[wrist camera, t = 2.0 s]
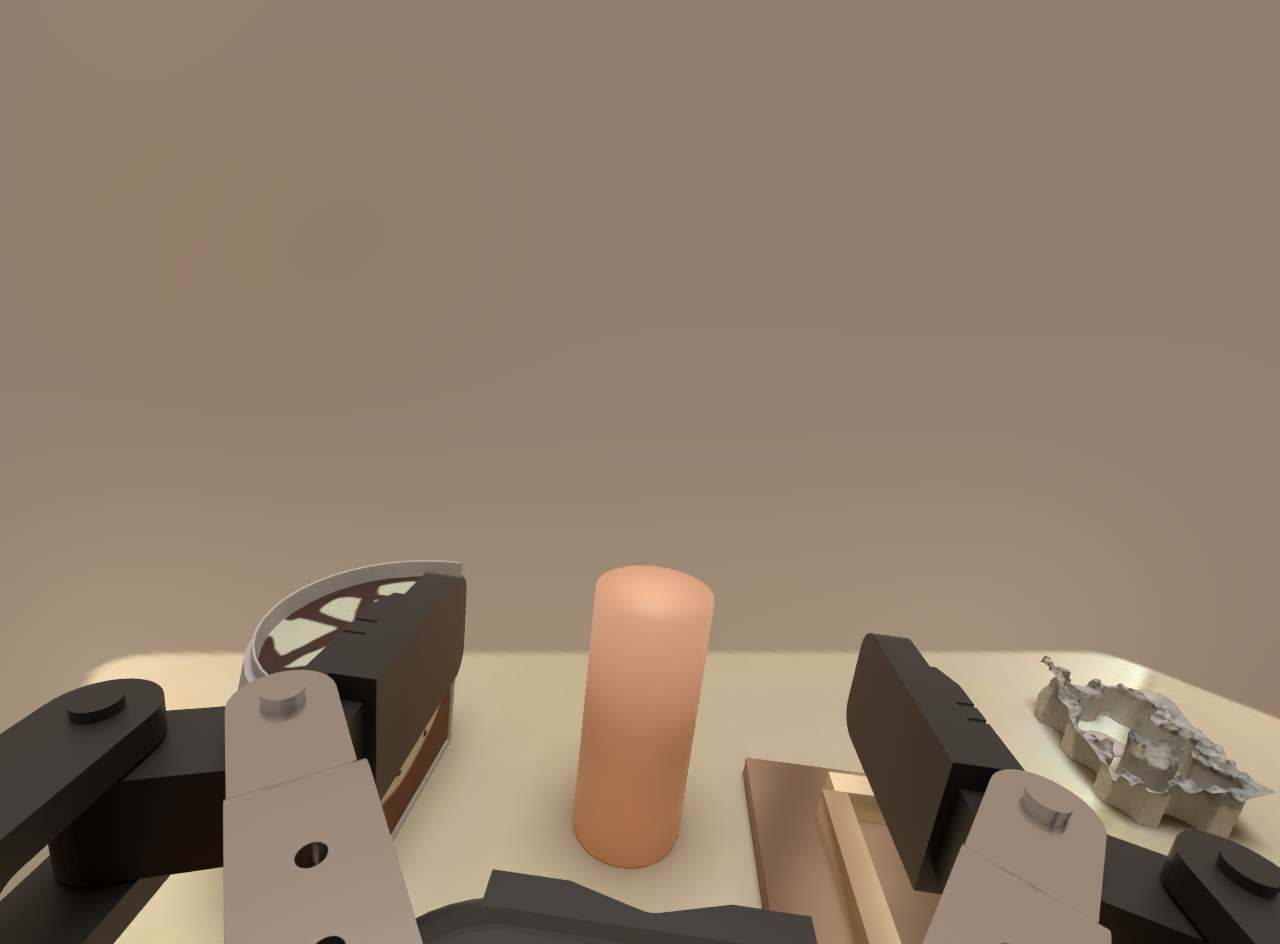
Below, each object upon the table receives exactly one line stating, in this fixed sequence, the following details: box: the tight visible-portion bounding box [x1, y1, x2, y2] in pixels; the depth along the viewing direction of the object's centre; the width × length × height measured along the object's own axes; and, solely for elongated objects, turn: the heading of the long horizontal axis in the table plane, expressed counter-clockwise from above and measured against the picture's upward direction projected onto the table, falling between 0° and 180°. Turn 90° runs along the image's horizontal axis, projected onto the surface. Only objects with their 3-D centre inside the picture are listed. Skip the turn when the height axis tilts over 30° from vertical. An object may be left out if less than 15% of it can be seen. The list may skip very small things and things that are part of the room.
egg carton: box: [1035, 656, 1275, 839], centre depth 36 cm, size 11×8×4 cm
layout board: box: [743, 758, 942, 944], centre depth 25 cm, size 16×14×2 cm
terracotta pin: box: [573, 566, 715, 868], centre depth 27 cm, size 5×5×12 cm
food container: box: [238, 560, 464, 842], centre depth 26 cm, size 12×6×10 cm, turn 175°
